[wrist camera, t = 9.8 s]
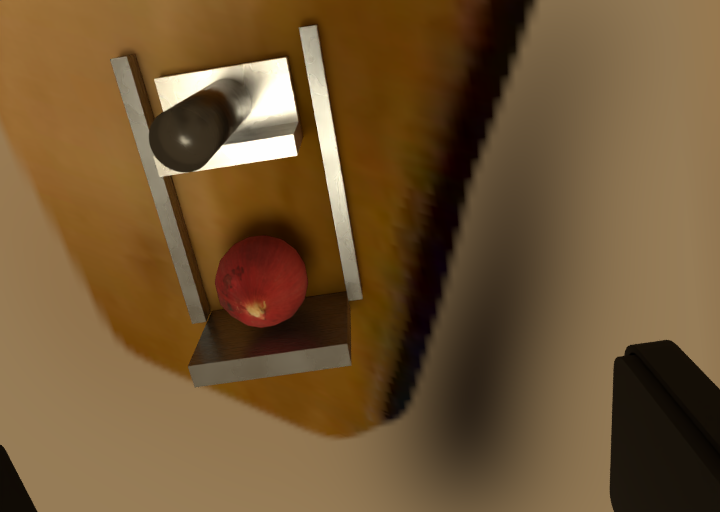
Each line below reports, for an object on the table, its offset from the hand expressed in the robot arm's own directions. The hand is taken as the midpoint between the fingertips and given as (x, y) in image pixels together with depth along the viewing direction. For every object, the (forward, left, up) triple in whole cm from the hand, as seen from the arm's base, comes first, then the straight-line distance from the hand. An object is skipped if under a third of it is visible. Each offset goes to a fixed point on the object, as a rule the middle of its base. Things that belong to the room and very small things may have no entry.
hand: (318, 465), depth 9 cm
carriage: (-2, -6, -30) cm, 31 cm away
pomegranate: (+9, -6, -31) cm, 32 cm away
